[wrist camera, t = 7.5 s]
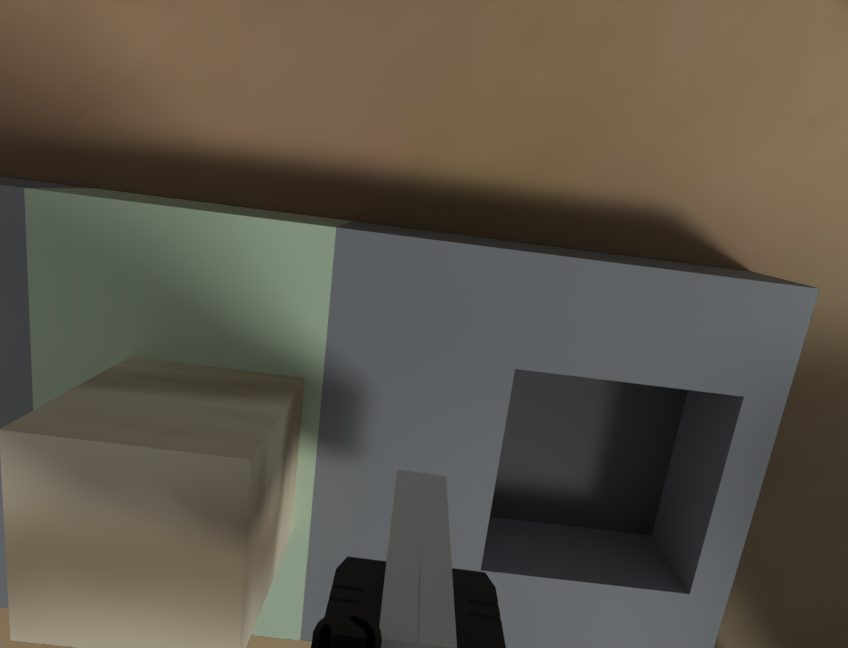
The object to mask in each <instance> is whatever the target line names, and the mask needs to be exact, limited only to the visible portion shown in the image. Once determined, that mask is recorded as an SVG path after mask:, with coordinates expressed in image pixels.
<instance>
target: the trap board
mask: <svg viewBox="0 0 848 648" xmlns="http://www.w3.org/2000/svg"><path fill="white" fill-rule="evenodd" d="M818 293H819V288H815V287H811V286H807V285H803V284H799V283H795V282H791V281H787V280H783V279H779V278H775V277H771V276H767V275H763V274H759V273H755V272H751V271H743V270H735V269H727V268H719V267H712V266H704V265H696V264H688V263H680V262H672V261H664V260H656V259H648V258H641V257H633V256H625V255H617V254H609V253H601V252H593V251H585V250H578V249H570V248H562V247H554V246H546V245H538V244H530V243H522V242H515V241H507V240H499V239H491V238H483V237H475V236H467V235H459V234H452V233H444V232H436V231H428V230H420V229H412V228H404V227H396V226H388V225H381V224H373V223H365V222H357V221H349V220H341V219H333V218H325V217H318V216H310V215H302V214H294V213H286V212H278V211H270V210H262V209H255V208H247V207H239V206H231V205H223V204H215V203H207V202H199V201H192V200H184V199H176V198H168V197H160V196H152V195H144V194H136V193H129V192H121V191H113V190H105V189H97V188H89V187H81V186H73V185H65V184H58V183H50V182H42V181H34V180H26V179H18V178H10V177H2V176H0V429H1V428H3V427H5V426H6V425H8V424H10V423H12V422H14V421H15V420H17V419H19V418H21V417H23V416H24V415H26V414H28V413H30V412H32V411H33V410H35V409H37V408H39V407H41V406H42V405H44V404H46V403H48V402H50V401H51V400H53V399H55V398H57V397H58V396H60V395H62V394H64V393H66V392H67V391H69V390H71V389H73V388H75V387H76V386H78V385H80V384H82V383H84V382H85V381H87V380H89V379H91V378H93V377H94V376H96V375H98V374H100V373H102V372H103V371H105V370H107V369H109V368H110V367H112V366H114V365H116V364H118V363H119V362H121V361H123V360H125V359H127V358H128V357H137V358H145V359H153V360H162V361H170V362H178V363H186V364H194V365H202V366H211V367H219V368H227V369H235V370H243V371H252V372H260V373H268V374H276V375H284V376H292V377H301V378H305V382H304V394H303V406H302V419H301V431H300V443H299V456H298V468H297V480H296V493H295V505H294V517H293V530H292V533H291V536H290V538H289V541H288V543H287V546H286V548H285V551H284V553H283V556H282V558H281V561H280V563H279V566H278V568H277V571H276V573H275V576H274V578H273V581H272V583H271V586H270V588H269V591H268V594H267V596H266V599H265V601H264V604H263V606H262V609H261V611H260V614H259V616H258V619H257V621H256V624H255V626H254V629H253V631H252V634H251V635H257V636H266V637H275V638H284V639H293V640H303V641H312V636H313V631H314V629H315V627H316V625H317V623H318V622H319V621H320V620H321V619H323V618H324V617H325V613H326V608H327V604H328V600H329V596H330V592H331V588H332V584H333V580H334V575H335V571H336V568H337V567H338V566H339V565H340V564H341V563H342V562H343V561H344V560H345V559H346V558H347V556H348V557H356V558H364V559H372V560H380V561H385V554H386V546H387V539H388V531H389V524H390V517H391V510H392V503H393V496H394V489H395V482H396V475H397V470H404V471H412V472H419V473H427V474H435V475H442V476H446V484H447V500H448V515H449V531H450V546H451V562H452V568H455V569H463V570H471V571H479V572H485V573H486V574H487V576H488V577H489V579H490V580H491V581H492V583H493V584H494V586H495V587H496V593H497V598H498V607H499V610H500V616H501V618H500V620H501V622H502V628H503V633H504V639H505V645H506V648H714V646H715V643H716V639H717V636H718V633H719V629H720V626H721V622H722V619H723V616H724V612H725V609H726V605H727V602H728V599H729V595H730V592H731V588H732V585H733V582H734V578H735V575H736V571H737V568H738V565H739V561H740V558H741V554H742V551H743V548H744V544H745V541H746V537H747V534H748V531H749V527H750V524H751V520H752V517H753V514H754V510H755V507H756V503H757V500H758V497H759V493H760V490H761V486H762V483H763V480H764V476H765V473H766V469H767V466H768V463H769V459H770V456H771V453H772V449H773V446H774V442H775V439H776V436H777V432H778V429H779V425H780V422H781V419H782V415H783V412H784V408H785V405H786V402H787V398H788V395H789V391H790V388H791V385H792V381H793V378H794V374H795V371H796V368H797V364H798V361H799V357H800V354H801V351H802V347H803V344H804V340H805V337H806V334H807V330H808V327H809V323H810V320H811V317H812V313H813V310H814V306H815V303H816V300H817V296H818ZM0 607H2V608H9V606H8V588H7V570H6V552H5V533H4V515H3V497H2V479H1V461H0Z"/></svg>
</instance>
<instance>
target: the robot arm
mask: <svg viewBox="0 0 848 648" xmlns="http://www.w3.org/2000/svg"><path fill="white" fill-rule="evenodd" d="M500 618H501V616H500V610H499V607H498V598H497V593H496V587H495V586H494V584H493V583H492V581H491V580H490V579H489V577H488V576H487V574H486V573H485V572H479V571H471V570H463V569H455V568H452V562H451V546H450V531H449V515H448V500H447V484H446V476H442V475H435V474H427V473H419V472H412V471H404V470H397V475H396V482H395V489H394V496H393V503H392V510H391V517H390V524H389V531H388V539H387V546H386V554H385V561H380V560H372V559H364V558H356V557H348V556H347V558H346V559H345V560H344V561H343V562H342V563H341V564H340V565H339V566H338V567H337V568H336V571H335V575H334V580H333V584H332V588H331V592H330V596H329V600H328V604H327V608H326V613H325V617H324V618H323V619H321V620H320V621H319V622H318V623H317V625H316V627H315V629H314V631H313V636H312V645H311V648H506V645H505V639H504V633H503V628H502V622H501V620H500Z"/></svg>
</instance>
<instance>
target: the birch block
mask: <svg viewBox="0 0 848 648" xmlns="http://www.w3.org/2000/svg"><path fill="white" fill-rule="evenodd" d="M304 382H305V378H301V377H292V376H284V375H276V374H268V373H260V372H252V371H243V370H235V369H227V368H219V367H211V366H202V365H194V364H186V363H178V362H170V361H162V360H153V359H145V358H137V357H128V358H127V359H125V360H123V361H121V362H119V363H118V364H116V365H114V366H112V367H110V368H109V369H107V370H105V371H103V372H102V373H100V374H98V375H96V376H94V377H93V378H91V379H89V380H87V381H85V382H84V383H82V384H80V385H78V386H76V387H75V388H73V389H71V390H69V391H67V392H66V393H64V394H62V395H60V396H58V397H57V398H55V399H53V400H51V401H50V402H48V403H46V404H44V405H42V406H41V407H39V408H37V409H35V410H33V411H32V412H30V413H28V414H26V415H24V416H23V417H21V418H19V419H17V420H15V421H14V422H12V423H10V424H8V425H6V426H5V427H3V428H1V429H0V461H1V479H2V497H3V515H4V533H5V552H6V570H7V588H8V606H9V624H10V640H13V641H22V642H31V643H40V644H49V645H58V646H67V647H76V648H246V646H247V644H248V641H249V639H250V636H251V634H252V631H253V629H254V626H255V624H256V621H257V619H258V616H259V614H260V611H261V609H262V606H263V604H264V601H265V599H266V596H267V594H268V591H269V588H270V586H271V583H272V581H273V578H274V576H275V573H276V571H277V568H278V566H279V563H280V561H281V558H282V556H283V553H284V551H285V548H286V546H287V543H288V541H289V538H290V536H291V533H292V530H293V517H294V505H295V493H296V480H297V468H298V456H299V443H300V431H301V419H302V406H303V394H304Z"/></svg>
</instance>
